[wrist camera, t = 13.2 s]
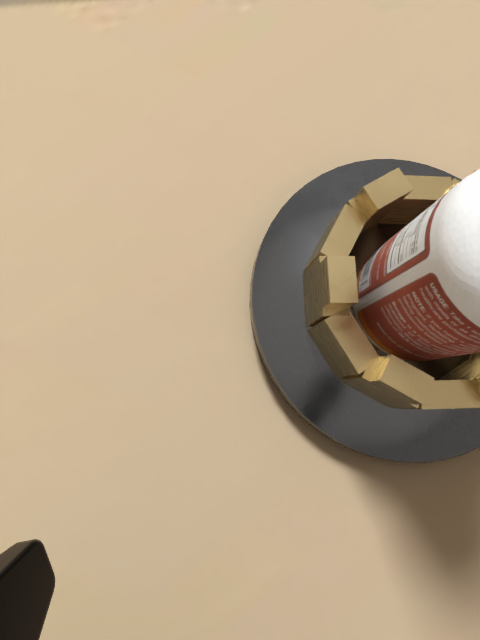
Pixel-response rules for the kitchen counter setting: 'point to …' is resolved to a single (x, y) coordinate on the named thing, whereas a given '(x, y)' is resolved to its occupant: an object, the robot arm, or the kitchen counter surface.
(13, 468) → the kitchen counter surface
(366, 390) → the crown on disc
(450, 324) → the pill bottle
